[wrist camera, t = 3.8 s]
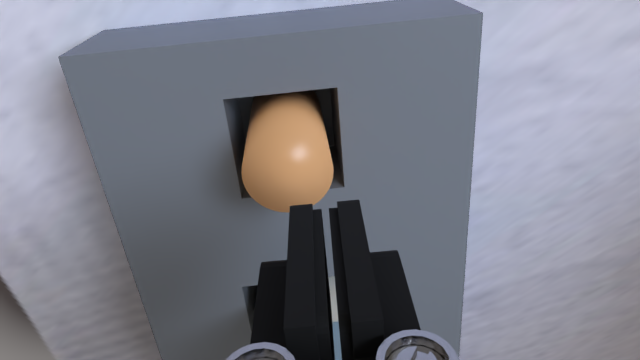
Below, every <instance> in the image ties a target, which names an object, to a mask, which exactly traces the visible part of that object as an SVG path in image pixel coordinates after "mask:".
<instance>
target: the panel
mask: <svg viewBox="0 0 640 360" xmlns="http://www.w3.org/2000/svg"><path fill="white" fill-rule="evenodd" d="M482 20H483V13H482V12H480V11H477V10H475V9H473V8H470V7H468V6H466V5H464V4H461V3H459V2H457V1H454V0H394V1H384V2H375V3H365V4H355V5H345V6H336V7H326V8H316V9H306V10H297V11H287V12H277V13H268V14H258V15H248V16H238V17H229V18H219V19H209V20H199V21H190V22H180V23H170V24H160V25H151V26H141V27H131V28H121V29H112V30H103V31H101V32H100V33H98V34H96V35H95V36H93V37H91V38H90V39H88V40H86V41H84V42H83V43H81V44H79V45H78V46H76V47H74V48H73V49H71V50H69V51H68V52H66V53H64V54H63V55H61V56H59V57H58V58H59V61H60V64H61V67H62V70H63V72H64V75H65V78H66V81H67V84H68V87H69V90H70V93H71V96H72V99H73V102H74V104H75V107H76V110H77V113H78V116H79V119H80V122H81V125H82V128H83V131H84V134H85V137H86V139H87V142H88V145H89V148H90V151H91V154H92V157H93V160H94V163H95V166H96V169H97V171H98V174H99V177H100V180H101V183H102V186H103V189H104V192H105V195H106V198H107V201H108V204H109V206H110V209H111V212H112V215H113V218H114V221H115V224H116V227H117V230H118V233H119V236H120V238H121V241H122V244H123V247H124V250H125V253H126V256H127V259H128V262H129V265H130V268H131V271H132V273H133V276H134V279H135V282H136V285H137V288H138V291H139V294H140V297H141V300H142V303H143V305H144V308H145V311H146V314H147V317H148V320H149V323H150V326H151V329H152V332H153V335H154V337H155V340H156V343H157V346H158V349H159V352H160V355H161V358H162V360H226V359H227V358H228V357H229V356H230V355H231V354H232V353H234V352H235V351H237V350H239V349H240V348H242V347H244V346H247V345H250V341H251V333H252V326H253V318H254V310H255V302H256V294H257V286H258V279H259V271H260V265H261V263H262V262H267V261H278V260H287V249H288V230H289V212H278V211H274V210H270V209H268V208H265V207H264V206H262V205H260V204H259V203H257V202H256V201H255V200H254V199H253V198H252V197H251V196H250V195H249V193H248V192H247V190H246V188H245V186H244V184H243V180H242V173H241V172H242V162H243V156H244V150H245V144H246V138H247V132H248V126H249V120H250V114H251V108H252V102H253V99H254V96H261V95H270V94H280V93H289V92H299V91H308V90H314V92H315V93H316V95H317V97H318V99H319V102H320V107H321V111H322V116H323V121H324V125H325V130H326V135H327V139H328V144H329V149H330V153H331V158H332V163H333V180H332V183H331V186H330V188H329V190H328V191H327V193H326V194H325V196H324V197H323V198H322V199H321V200H320V201H319V202H317V203H316V204H315V205H313V210H314V209H322V218H323V228H324V238H325V248H326V258H327V268H328V277H332V276H334V264H333V253H332V241H331V230H330V218H329V208H337V201H348V200H359V201H360V206H361V211H362V216H363V221H364V226H365V231H366V236H367V241H368V246H369V251H370V252H380V251H392V250H397V251H398V253H399V256H400V259H401V263H402V266H403V270H404V273H405V277H406V280H407V284H408V287H409V291H410V294H411V297H412V301H413V304H414V308H415V311H416V315H417V318H418V322H419V325H420V329H421V330H423V331H428V332H431V333H433V334H436V335H438V336H440V337H441V338H443V339H444V340H445V341H447V342H448V343H449V344H450V345H451V347H452V348H453V349H454V350H455V352H456V354H457V355H458V357H459V350H460V335H461V321H462V307H463V292H464V278H465V264H466V249H467V235H468V221H469V207H470V192H471V178H472V164H473V149H474V135H475V121H476V106H477V92H478V78H479V63H480V49H481V35H482Z"/></svg>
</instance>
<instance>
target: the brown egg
mask: <svg viewBox="0 0 640 360" xmlns="http://www.w3.org/2000/svg"><path fill="white" fill-rule="evenodd" d="M241 173H242V180H243V184H244V186H245V188H246V190H247V192H248V193H249V195H250V196H251V197H252V198H253V199H254V200H255V201H256V202H257V203H259V204H260V205H262V206H264V207H265V208H268V209H270V210H274V211H278V212H289V210H290V206H293V205H304V204H312V205H315V204H316V203H317V202H319V201H320V200H321V199H322V198H323V197H324V196H325V194H326V193H327V191H328V190H329V188H330V186H331V183H332V180H333V163H332V158H331V153H330V149H329V144H328V139H327V135H326V130H325V125H324V121H323V116H322V111H321V107H320V102H319V99H318V97H317V95H316V93H315V92H314V90H308V91H299V92H289V93H280V94H270V95H261V96H254V99H253V102H252V108H251V114H250V120H249V126H248V132H247V138H246V144H245V150H244V156H243V162H242V172H241Z"/></svg>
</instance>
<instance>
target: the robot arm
mask: <svg viewBox="0 0 640 360" xmlns="http://www.w3.org/2000/svg"><path fill="white" fill-rule="evenodd" d="M329 218H330V230H331V241H332V253H333V264H334V276H335V288H336V299H337V311H338V322H339V333H340V344H341V355H342V360H460V359H459V357H458V355H457V354H456V352H455V350H454V349H453V348H452V347H451V345H450V344H449V343H448V342H447V341H445V340H444V339H443V338H441V337H440V336H438V335H436V334H433V333H431V332H428V331H423V330H421V329H420V325H419V322H418V318H417V315H416V311H415V308H414V304H413V301H412V297H411V294H410V291H409V287H408V284H407V280H406V277H405V273H404V270H403V266H402V263H401V259H400V256H399V253H398V251H397V250H392V251H380V252H370V251H369V246H368V241H367V236H366V231H365V226H364V221H363V216H362V211H361V206H360V201H359V200H348V201H337V208H329ZM226 360H335V353H334V339H333V325H332V311H331V298H330V288H329V278H328V268H327V258H326V248H325V238H324V228H323V218H322V209H314V210H313V205H312V204H304V205H293V206H290V210H289V230H288V249H287V260H278V261H267V262H262V263H261V265H260V271H259V279H258V286H257V294H256V302H255V310H254V318H253V326H252V333H251V341H250V345H247V346H244V347H242V348H240V349H239V350H237V351H235V352H234V353H232V354H231V355H230V356H229V357H228V358H227V359H226Z"/></svg>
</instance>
